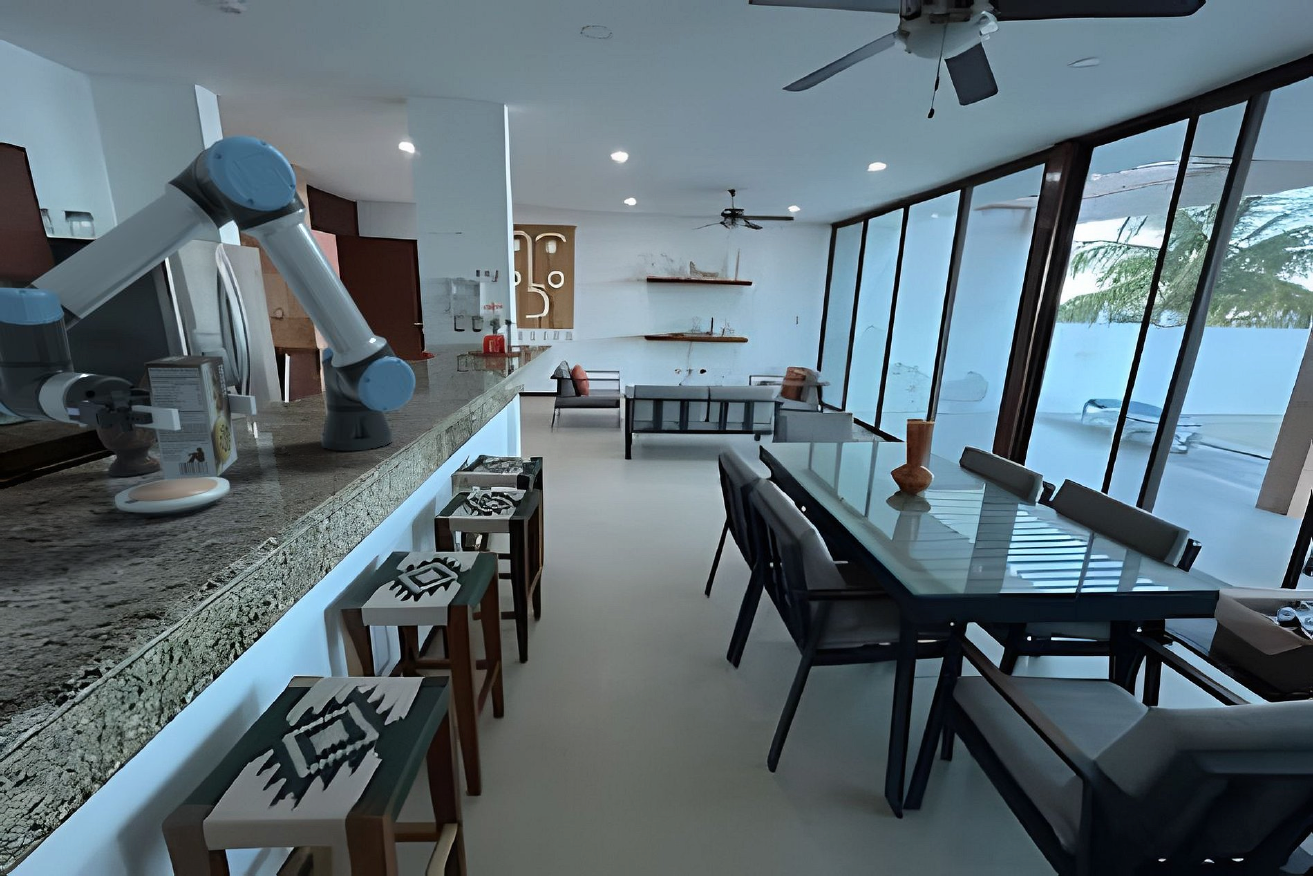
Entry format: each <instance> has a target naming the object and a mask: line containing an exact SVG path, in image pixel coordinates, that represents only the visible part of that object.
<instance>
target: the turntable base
mask: <svg viewBox="0 0 1313 876" xmlns="http://www.w3.org/2000/svg"><path fill="white" fill-rule="evenodd" d="M216 503H217V499H216V500H214V501H211V502H208V503H204V504H201V505H197V506H192V507H187V508H182V509H176V510H169V511H159V512H135V515H136V516H138V517H141V518H148V519H159V518H160V519H161V518H163V519H164V518H171V517H179V516H185V515H189V514H194V513H197V512H201V511H203V510H204V511H205V510H206V509H209V508H211V507H213V506H214V505H215V504H216Z"/></svg>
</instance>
